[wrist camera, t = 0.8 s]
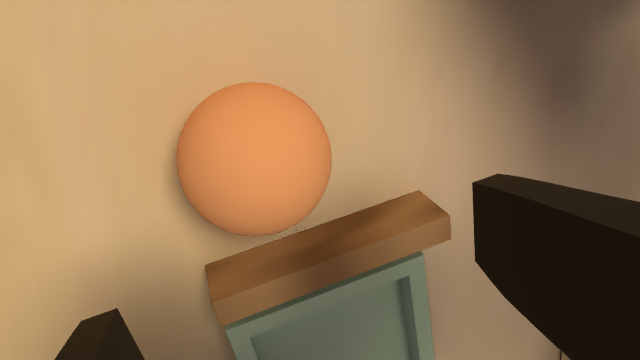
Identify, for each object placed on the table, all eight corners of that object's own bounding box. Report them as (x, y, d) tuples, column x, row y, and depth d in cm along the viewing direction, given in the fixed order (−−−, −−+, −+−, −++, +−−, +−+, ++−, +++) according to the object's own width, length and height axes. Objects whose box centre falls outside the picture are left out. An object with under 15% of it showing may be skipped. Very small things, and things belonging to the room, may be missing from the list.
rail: (419, 190, 21) (449, 215, 18) (421, 212, 21) (451, 238, 19) (205, 265, 19) (211, 303, 16) (213, 287, 19) (221, 326, 17)
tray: (404, 234, 21) (423, 254, 20) (420, 363, 26) (437, 388, 24) (220, 303, 20) (225, 331, 18) (269, 429, 24) (277, 461, 22)
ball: (291, 54, 16) (339, 81, 12) (317, 174, 19) (366, 233, 14) (153, 91, 15) (151, 135, 11) (198, 213, 18) (212, 289, 13)
